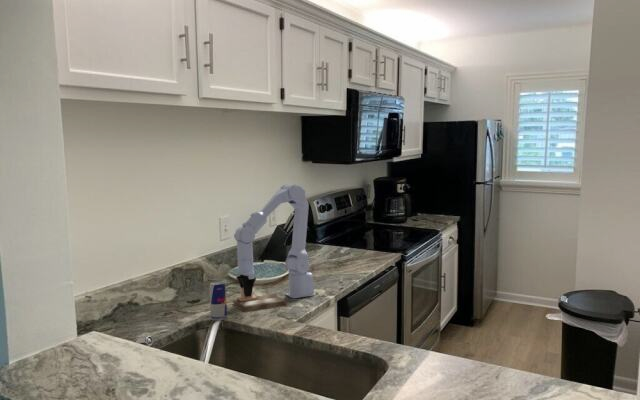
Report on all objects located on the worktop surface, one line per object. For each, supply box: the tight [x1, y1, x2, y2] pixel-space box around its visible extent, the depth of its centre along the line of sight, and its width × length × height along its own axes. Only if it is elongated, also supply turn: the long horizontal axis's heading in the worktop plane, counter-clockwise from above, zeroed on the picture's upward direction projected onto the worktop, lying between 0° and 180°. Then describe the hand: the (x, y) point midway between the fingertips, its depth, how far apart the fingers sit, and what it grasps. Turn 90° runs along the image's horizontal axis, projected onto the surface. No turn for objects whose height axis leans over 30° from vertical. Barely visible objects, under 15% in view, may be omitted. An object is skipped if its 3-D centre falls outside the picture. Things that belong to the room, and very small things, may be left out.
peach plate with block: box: [236, 287, 257, 302], centre depth 183 cm, size 6×5×4 cm
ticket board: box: [232, 293, 287, 312], centre depth 182 cm, size 16×14×2 cm
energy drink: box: [208, 281, 228, 322], centre depth 164 cm, size 5×5×12 cm
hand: (246, 295), depth 183 cm, fingers closed on peach plate with block, 3 cm apart
